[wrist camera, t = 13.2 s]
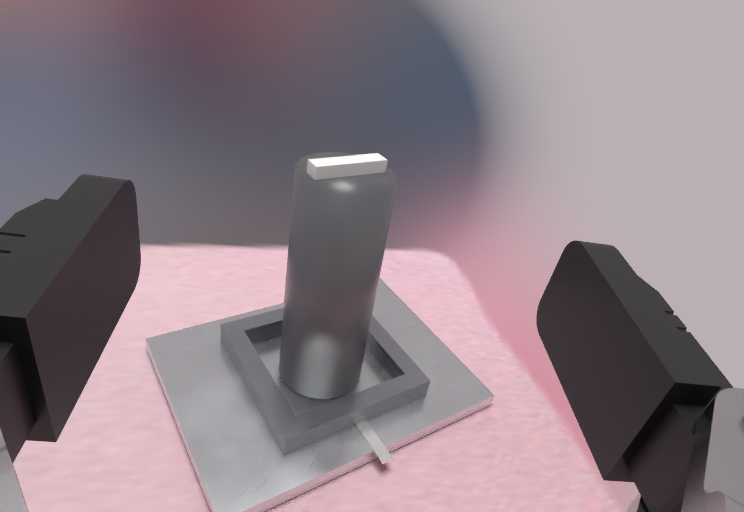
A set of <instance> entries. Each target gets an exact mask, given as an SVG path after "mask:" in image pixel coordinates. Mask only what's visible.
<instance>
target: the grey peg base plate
mask: <svg viewBox="0 0 744 512" xmlns="http://www.w3.org/2000/svg"><path fill="white" fill-rule="evenodd" d="M283 311H284V303H282V304H279V305H275V306H271V307H267V308H263V309H259V310H255V311H251V312H248V313H244V314H240V315H236V316H232V317H228V318H224V319H220V320H217V321H213V322H209V323H205V324H201V325H197V326H193V327H190V328H186V329H182V330H178V331H174V332H170V333H166V334H162V335H159V336H155V337H151V338H147V339H146V346H147V351H148V353H149V356H150V359H151V361H152V364H153V366H154V369H155V371H156V374H157V376H158V379H159V381H160V384H161V387H162V389H163V392H164V394H165V397H166V399H167V402H168V404H169V407H170V409H171V412H172V415H173V417H174V420H175V422H176V425H177V427H178V430H179V432H180V435H181V437H182V440H183V443H184V445H185V448H186V450H187V453H188V455H189V458H190V460H191V463H192V465H193V468H194V471H195V473H196V476H197V478H198V481H199V483H200V486H201V488H202V491H203V494H204V496H205V499H206V501H207V504H208V506H209V509H210V511H211V512H265V511H267V510H269V509H271V508H273V507H275V506H277V505H279V504H282V503H284V502H286V501H288V500H290V499H292V498H294V497H296V496H299V495H301V494H303V493H305V492H307V491H309V490H311V489H313V488H315V487H318V486H320V485H322V484H324V483H326V482H328V481H330V480H332V479H335V478H337V477H339V476H341V475H343V474H345V473H347V472H349V471H352V470H354V469H356V468H358V467H360V466H362V465H364V464H366V463H369V462H371V461H373V460H375V459H377V458H379V460H380V461H381V463H382V464H384V463H386V462H388V461H390V460H392V459H393V457H392V456H391V454H390V452H392V451H394V450H396V449H398V448H400V447H402V446H405V445H407V444H409V443H411V442H413V441H415V440H417V439H419V438H422V437H424V436H426V435H428V434H430V433H432V432H434V431H436V430H439V429H441V428H443V427H445V426H447V425H449V424H451V423H453V422H455V421H458V420H460V419H462V418H464V417H466V416H468V415H470V414H472V413H475V412H477V411H479V410H481V409H483V408H485V407H487V406H489V405H491V403H492V400H493V398H494V395H493V394H492V392H491V391H490V390H489V389H488V388H487V387H486V386H485V385H484V384H483V383H482V382H481V381H480V380H479V379H478V378H477V377H476V376H475V375H474V374H473V373H472V372H471V371H470V370H469V369H468V368H467V367H466V366H465V365H464V364H463V363H462V362H461V361H460V360H459V359H458V358H457V357H456V356H455V355H454V354H453V353H452V352H451V350H450V349H449V348H448V347H447V346H446V345H445V344H444V343H443V342H442V341H441V340H440V339H439V338H438V337H437V336H436V335H435V334H434V333H433V332H432V331H431V330H430V329H429V328H428V327H427V326H426V325H425V324H424V323H423V322H422V321H421V320H420V319H419V318H418V317H417V316H416V315H415V314H414V313H413V312H412V311H411V309H410V308H409V307H408V306H407V305H406V304H405V303H404V302H403V301H402V300H401V299H400V298H399V297H398V296H397V295H396V294H395V293H394V292H393V291H392V290H391V289H390V288H389V287H388V286H387V285H386V284H385V283H384V282H383V281H382V280H381V279H380V278H379V281H378V286H377V291H376V297H375V302H374V307H373V312H372V317H371V322H370V328H369V333H368V338H367V343H366V348H365V353H364V359H363V364H362V369H361V374H360V378H359V381H358V383H357V384H356V386H355V387H354V388H353V389H352V390H350V391H349V392H348V393H346V394H344V395H342V396H339V397H336V398H331V399H314V398H309V397H306V396H303V395H300V394H298V393H296V392H295V391H293V390H292V389H290V388H289V387H288V386H287V385H286V384H285V383H284V381H283V380H282V378H281V376H280V373H279V360H280V348H281V335H282V323H283Z"/></svg>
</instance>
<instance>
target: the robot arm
mask: <svg viewBox="0 0 744 512" xmlns="http://www.w3.org/2000/svg"><path fill="white" fill-rule="evenodd" d="M140 263H141V253H140V241H139V228H138V215H137V203H136V192H135V187H134V185H133V183H132V181H130V180H125V179H117V178H109V177H101V176H94V175H87V174H83V175H81V176H80V177H78V178H77V180H76V181H75V182H74V183H73V184H72V185H71V186H70V187H69V188H68V190H67V191H66V192H65V193H64V194H63V195H62V196H61V197H60V198H59V199H58V200H53V199H44V200H41V201H40V202H37V203H35V204H33V205H31V206H29V207H27V208H25V209H23V210H21V211H19V212H17V213H15V214H14V215H13V217H11V218H10V219H9V220H8V221H7V222H6V223H5V224H4V225H3V227H1V228H0V512H28V509H27V505H26V502H25V499H24V496H23V493H22V490H21V487H20V484H19V481H18V478H17V475H16V472H15V469H14V466H13V462H14V460H15V458H16V456H17V455H18V453H19V451H20V449H21V448H22V446H23V444H24V442H25V441H26V440H32V441H47V442H56V441H57V439H58V437H59V436H60V434H61V432H62V430H63V428H64V426H65V424H66V422H67V420H68V418H69V416H70V414H71V412H72V410H73V408H74V406H75V404H76V402H77V400H78V399H79V397H80V395H81V393H82V391H83V389H84V387H85V385H86V383H87V381H88V379H89V377H90V375H91V373H92V371H93V369H94V367H95V365H96V363H97V362H98V360H99V358H100V356H101V354H102V352H103V350H104V348H105V346H106V344H107V342H108V340H109V338H110V336H111V334H112V332H113V330H114V328H115V326H116V325H117V323H118V321H119V319H120V317H121V315H122V313H123V311H124V309H125V307H126V305H127V303H128V301H129V299H130V297H131V295H132V293H133V291H134V289H135V287H136V284H137V281H138V277H139V272H140ZM673 313H674V311H673V310H672V309H671V307H670V306H669V305H668V304H667V302H666V301H665V300H664V299H663V297H662V296H661V295H660V293H659V292H658V291H657V290H655V289H654V288H653V287H651V286H650V285H649V284H648V283H646V282H645V281H644V280H643V279H641V278H640V277H639V276H637V275H636V273H635V272H634V271H633V269H632V268H631V267H630V265H629V264H628V263H627V261H626V260H625V259H624V257H623V256H622V255H621V254H620V252H619V251H618V250H617V249H616V248H615V247H614V246H611V245H604V244H597V243H590V242H582V241H572V242H570V243H569V244H568V245H567V246H566V247H565V249H564V251H563V253H562V255H561V257H560V259H559V261H558V263H557V266H556V268H555V270H554V272H553V274H552V276H551V279H550V281H549V283H548V285H547V287H546V289H545V291H544V294H543V296H542V298H541V300H540V303H539V306H538V311H537V328H538V332H539V335H540V337H541V340H542V342H543V344H544V346H545V349H546V351H547V353H548V355H549V358H550V360H551V362H552V364H553V367H554V369H555V371H556V373H557V376H558V378H559V380H560V382H561V385H562V387H563V389H564V392H565V394H566V396H567V398H568V400H569V403H570V405H571V408H572V410H573V412H574V414H575V417H576V419H577V421H578V423H579V426H580V428H581V430H582V432H583V435H584V437H585V439H586V441H587V444H588V446H589V448H590V450H591V453H592V455H593V457H594V459H595V462H596V464H597V466H598V469H599V471H600V473H601V475H602V478H603V480H608V481H624V482H635V484H636V486H637V489H638V491H639V492H638V493H637V494H636V495H635V497H634V498H633V499H632V500H631V502H630V504H629V507H628V510H627V512H744V389H740V388H733V387H732V385H731V384H730V383H729V382H728V380H727V379H726V378H725V376H724V375H723V374H722V372H721V371H720V370H719V369H718V367H717V366H716V365H715V364H714V362H713V361H712V360H711V359H710V357H709V356H708V355H707V353H706V352H705V351H704V350H703V348H702V347H701V346H700V344H699V343H698V342H697V341H696V339H695V338H694V337H693V335H692V334H691V333H690V332H686V327H685V325H684V324H683V323H682V321H681V320H680V319H679V318H678V317H677V316H675V315H673Z"/></svg>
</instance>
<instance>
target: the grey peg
mask: <svg viewBox="0 0 744 512" xmlns="http://www.w3.org/2000/svg"><path fill="white" fill-rule="evenodd" d="M386 165H387V159H385V158H384V157H382V156H381V155H380V154H378V153H376V154H363V155H356V154H350V153H341V152H323V153H315V154H311V155H308V156H305V157H303V158H301V159H300V160H298V161H297V163H296V165H295V175H294V186H293V200H292V212H291V224H290V237H289V249H288V261H287V273H286V286H285V298H284V311H283V323H282V335H281V348H280V360H279V373H280V376H281V378H282V380H283V381H284V383H285V384H286V385H287V386H288V387H289V388H290V389H292V390H293V391H295V392H296V393H298V394H300V395H303V396H306V397H309V398H314V399H331V398H336V397H339V396H342V395H344V394H346V393H348V392H349V391H350V390H352V389H353V388H354V387H355V386H356V384H357V383H358V381H359V378H360V374H361V369H362V364H363V359H364V353H365V348H366V343H367V338H368V333H369V328H370V322H371V317H372V312H373V307H374V302H375V297H376V291H377V286H378V281H379V276H380V271H381V266H382V260H383V255H384V250H385V245H386V240H387V235H388V229H389V224H390V219H391V214H392V208H393V204H394V198H395V193H396V188H397V183H398V178H397V176H396V174H395V173H394V171H393V170H391V169H390V168H389V167H387V166H386Z"/></svg>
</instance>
